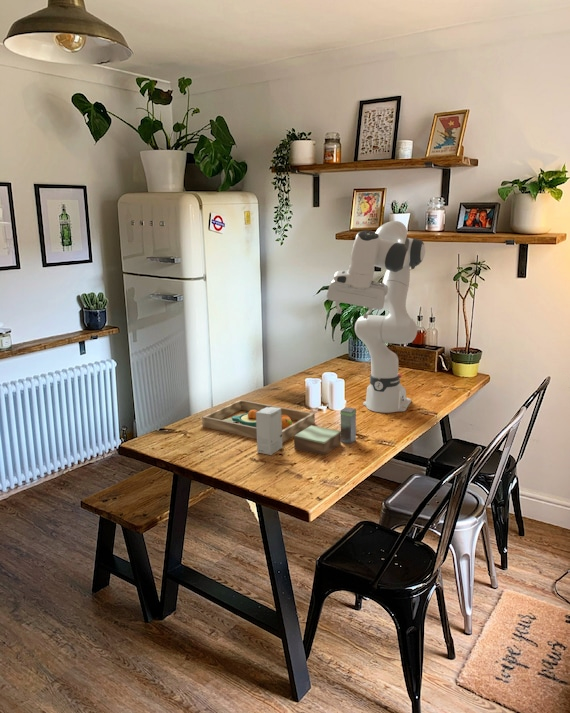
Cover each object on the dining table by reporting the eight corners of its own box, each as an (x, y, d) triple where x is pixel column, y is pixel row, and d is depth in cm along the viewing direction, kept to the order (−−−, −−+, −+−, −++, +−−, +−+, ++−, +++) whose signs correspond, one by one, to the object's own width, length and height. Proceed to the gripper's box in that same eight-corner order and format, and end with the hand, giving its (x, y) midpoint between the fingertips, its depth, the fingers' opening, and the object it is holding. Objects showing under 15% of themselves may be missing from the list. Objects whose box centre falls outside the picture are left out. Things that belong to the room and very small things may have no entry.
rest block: (311, 438, 224) (311, 425, 223) (340, 444, 218) (340, 431, 217) (294, 449, 215) (294, 435, 213) (324, 455, 208) (324, 442, 207)
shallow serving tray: (240, 408, 259) (240, 399, 258) (314, 423, 240) (314, 413, 239) (202, 426, 238) (202, 417, 237) (279, 443, 219) (279, 433, 219)
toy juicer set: (301, 425, 239) (301, 406, 237) (276, 440, 224) (276, 420, 222) (242, 413, 254) (241, 395, 252) (214, 427, 239) (213, 408, 237)
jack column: (345, 438, 224) (345, 407, 221) (356, 440, 221) (356, 408, 219) (340, 442, 220) (340, 410, 217) (350, 444, 218) (350, 412, 215)
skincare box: (271, 455, 209) (269, 414, 206) (256, 452, 212) (254, 412, 209) (283, 447, 216) (282, 407, 213) (268, 444, 219) (267, 405, 216)
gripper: (389, 281, 213) (381, 318, 218) (331, 270, 215) (325, 307, 221) (389, 287, 207) (380, 324, 213) (329, 275, 209) (323, 313, 215)
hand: (352, 315), depth 217 cm, fingers open, 8 cm apart
